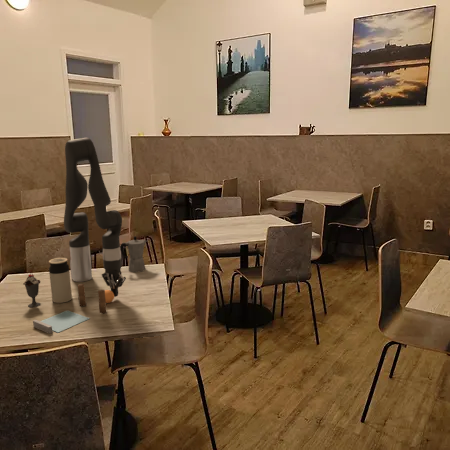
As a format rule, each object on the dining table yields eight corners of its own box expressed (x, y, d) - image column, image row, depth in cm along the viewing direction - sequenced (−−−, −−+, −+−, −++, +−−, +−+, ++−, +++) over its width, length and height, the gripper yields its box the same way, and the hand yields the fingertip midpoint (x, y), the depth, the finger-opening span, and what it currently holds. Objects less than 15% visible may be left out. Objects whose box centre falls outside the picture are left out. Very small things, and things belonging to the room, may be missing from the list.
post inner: (78, 305, 176) (76, 285, 174) (83, 303, 178) (81, 283, 176) (82, 306, 175) (80, 286, 173) (87, 304, 177) (85, 284, 175)
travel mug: (65, 304, 178) (61, 263, 174) (48, 302, 179) (44, 262, 176) (75, 296, 185) (71, 257, 182) (59, 295, 187) (55, 257, 183)
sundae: (37, 300, 182) (34, 267, 179) (45, 304, 178) (42, 270, 174) (22, 305, 177) (18, 271, 174) (30, 309, 173) (26, 274, 169)
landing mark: (35, 323, 160) (35, 323, 160) (67, 310, 171) (67, 310, 171) (58, 332, 152) (58, 332, 152) (89, 318, 163) (89, 318, 163)
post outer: (98, 312, 169) (96, 291, 167) (103, 310, 171) (101, 289, 169) (102, 313, 168) (100, 292, 166) (107, 311, 170) (106, 290, 168)
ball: (108, 294, 183) (101, 304, 179) (103, 286, 179) (95, 295, 176) (118, 297, 180) (111, 307, 177) (113, 288, 177) (105, 298, 173)
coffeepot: (143, 264, 230) (142, 232, 226) (152, 269, 222) (150, 236, 219) (117, 270, 220) (115, 237, 216) (125, 275, 213) (123, 241, 209)
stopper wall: (33, 326, 157) (32, 320, 156) (36, 325, 158) (35, 319, 157) (49, 333, 151) (48, 327, 151) (52, 332, 152) (51, 326, 152)
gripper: (94, 257, 179) (97, 295, 182) (116, 262, 171) (119, 301, 175) (108, 253, 185) (111, 290, 188) (129, 257, 178) (132, 296, 181)
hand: (115, 295), depth 182 cm, fingers closed
